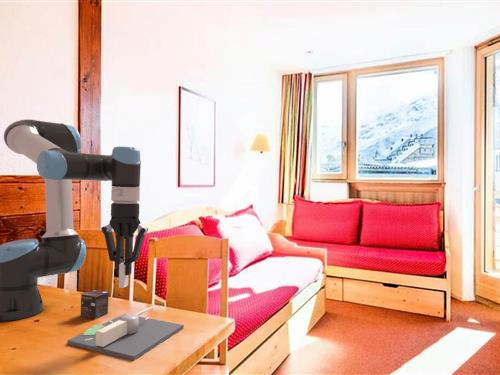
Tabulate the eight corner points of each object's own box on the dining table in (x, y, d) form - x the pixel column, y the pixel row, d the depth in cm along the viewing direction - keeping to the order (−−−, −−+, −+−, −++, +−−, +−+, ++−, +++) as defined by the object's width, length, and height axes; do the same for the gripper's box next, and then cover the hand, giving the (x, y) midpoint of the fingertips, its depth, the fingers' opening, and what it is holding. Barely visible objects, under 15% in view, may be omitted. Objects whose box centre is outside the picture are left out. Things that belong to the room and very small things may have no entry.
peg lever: (145, 317, 113) (145, 304, 113) (158, 320, 111) (159, 307, 111) (91, 344, 93) (92, 329, 93) (107, 348, 91) (107, 332, 91)
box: (79, 317, 116) (80, 294, 116) (94, 311, 122) (94, 289, 122) (94, 320, 114) (94, 296, 114) (108, 313, 119) (109, 291, 119)
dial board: (64, 343, 97) (64, 338, 97) (123, 316, 118) (123, 312, 118) (134, 360, 88) (134, 355, 88) (184, 327, 109) (184, 323, 109)
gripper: (96, 202, 98) (94, 288, 99) (142, 203, 97) (140, 291, 97) (109, 201, 106) (107, 281, 106) (152, 202, 105) (150, 284, 105)
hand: (123, 286), depth 102 cm, fingers closed
